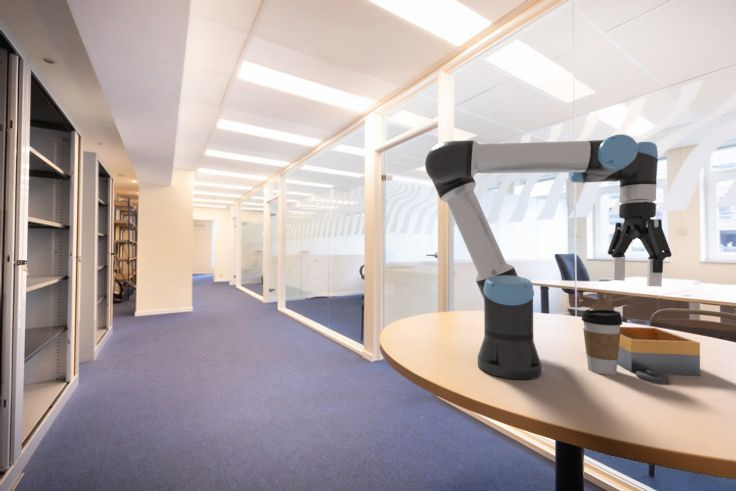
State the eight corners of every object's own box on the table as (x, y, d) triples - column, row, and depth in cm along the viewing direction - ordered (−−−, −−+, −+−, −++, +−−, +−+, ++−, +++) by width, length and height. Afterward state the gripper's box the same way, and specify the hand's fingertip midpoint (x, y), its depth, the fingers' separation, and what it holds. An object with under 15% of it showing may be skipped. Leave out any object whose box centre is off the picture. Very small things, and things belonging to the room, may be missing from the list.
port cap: (647, 384, 75) (647, 374, 75) (630, 374, 81) (630, 365, 81) (676, 386, 74) (676, 376, 74) (657, 375, 80) (657, 366, 80)
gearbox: (631, 372, 82) (631, 340, 82) (598, 353, 96) (598, 326, 97) (700, 375, 79) (699, 342, 79) (655, 355, 94) (655, 327, 94)
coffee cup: (630, 378, 78) (629, 315, 78) (590, 375, 80) (590, 313, 80) (611, 365, 86) (611, 308, 86) (576, 363, 88) (575, 307, 88)
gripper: (694, 195, 74) (691, 289, 74) (622, 208, 99) (620, 278, 99) (657, 195, 75) (654, 288, 75) (595, 208, 100) (593, 277, 100)
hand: (635, 283), depth 87 cm, fingers open, 13 cm apart
